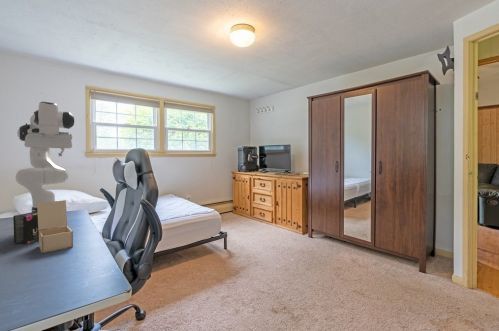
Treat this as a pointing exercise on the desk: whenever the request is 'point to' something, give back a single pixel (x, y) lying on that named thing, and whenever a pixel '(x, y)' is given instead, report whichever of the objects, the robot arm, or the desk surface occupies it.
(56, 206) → the lid
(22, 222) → the tampon box
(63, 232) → the carton
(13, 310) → the desk surface
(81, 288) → the desk surface
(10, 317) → the desk surface
